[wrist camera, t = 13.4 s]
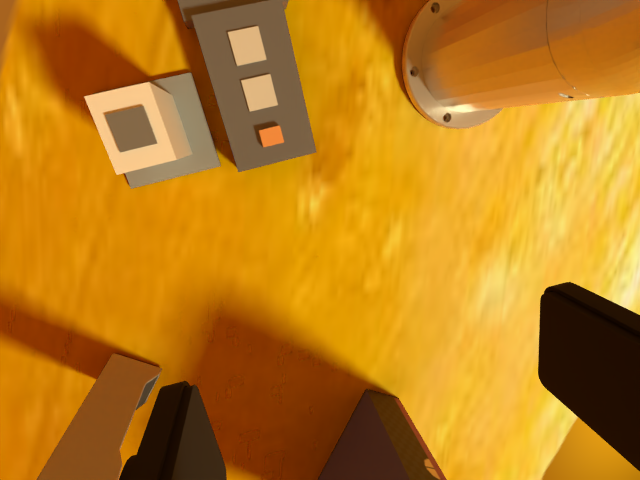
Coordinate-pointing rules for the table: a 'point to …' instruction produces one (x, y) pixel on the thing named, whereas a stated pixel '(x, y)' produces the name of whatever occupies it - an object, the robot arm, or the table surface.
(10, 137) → the table surface
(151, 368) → the vintage mobile phone
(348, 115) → the table surface
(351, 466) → the cereal box
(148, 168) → the rubber mat
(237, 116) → the charging dock
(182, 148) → the plug
